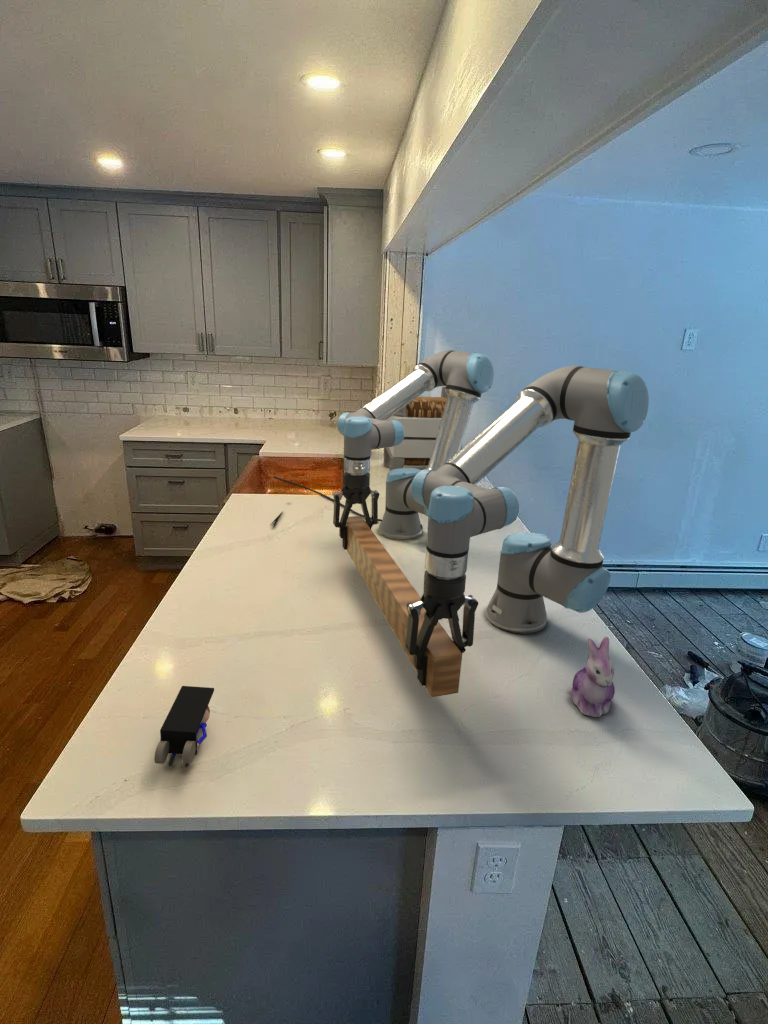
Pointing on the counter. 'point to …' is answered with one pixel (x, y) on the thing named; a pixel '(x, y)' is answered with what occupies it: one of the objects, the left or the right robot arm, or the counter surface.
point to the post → (402, 606)
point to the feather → (276, 520)
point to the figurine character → (184, 725)
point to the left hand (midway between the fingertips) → (354, 546)
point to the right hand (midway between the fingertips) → (436, 679)
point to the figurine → (594, 681)
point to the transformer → (416, 432)
